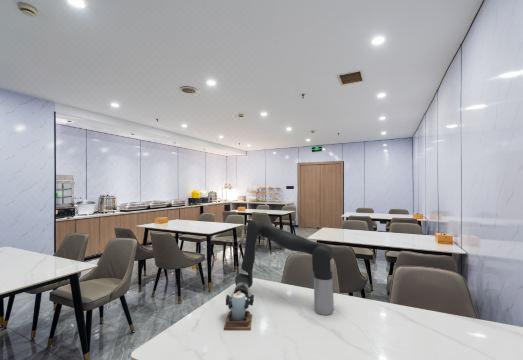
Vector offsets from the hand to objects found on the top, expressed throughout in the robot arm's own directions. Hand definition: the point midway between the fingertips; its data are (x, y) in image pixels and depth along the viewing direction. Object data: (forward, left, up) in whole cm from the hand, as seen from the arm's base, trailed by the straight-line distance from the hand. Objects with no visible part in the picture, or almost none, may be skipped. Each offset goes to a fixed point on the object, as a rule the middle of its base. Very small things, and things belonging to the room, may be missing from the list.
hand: (238, 307), depth 113 cm
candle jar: (-2, -2, -7) cm, 7 cm away
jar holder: (-1, -2, -8) cm, 9 cm away
